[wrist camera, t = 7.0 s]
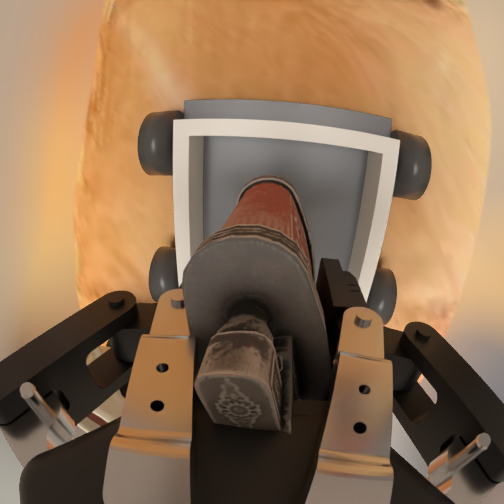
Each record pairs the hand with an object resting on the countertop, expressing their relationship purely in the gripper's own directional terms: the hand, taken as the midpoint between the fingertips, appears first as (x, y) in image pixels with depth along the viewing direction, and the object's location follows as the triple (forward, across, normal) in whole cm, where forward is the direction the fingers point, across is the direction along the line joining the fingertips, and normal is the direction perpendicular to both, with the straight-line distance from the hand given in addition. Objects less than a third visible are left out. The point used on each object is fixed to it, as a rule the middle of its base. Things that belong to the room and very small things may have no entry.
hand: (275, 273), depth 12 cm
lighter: (+2, 0, 0) cm, 2 cm away
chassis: (+9, 0, 0) cm, 9 cm away
